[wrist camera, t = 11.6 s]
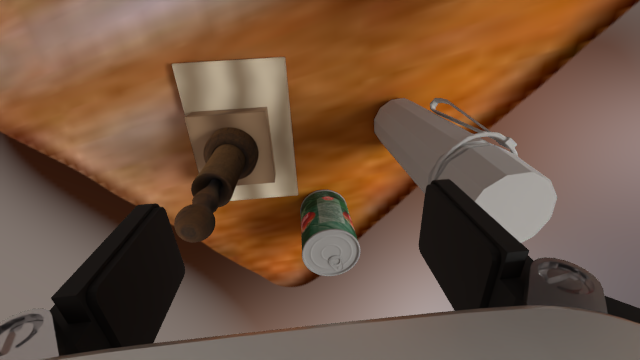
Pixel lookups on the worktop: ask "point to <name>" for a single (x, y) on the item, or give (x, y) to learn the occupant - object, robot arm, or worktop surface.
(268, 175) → the walnut base block
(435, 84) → the worktop surface
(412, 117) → the water bottle
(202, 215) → the brown wooden pepper mill
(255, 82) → the birch board
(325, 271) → the canned tomato
